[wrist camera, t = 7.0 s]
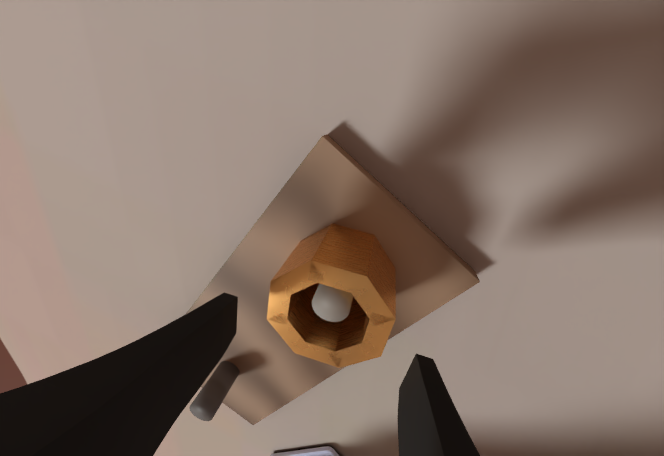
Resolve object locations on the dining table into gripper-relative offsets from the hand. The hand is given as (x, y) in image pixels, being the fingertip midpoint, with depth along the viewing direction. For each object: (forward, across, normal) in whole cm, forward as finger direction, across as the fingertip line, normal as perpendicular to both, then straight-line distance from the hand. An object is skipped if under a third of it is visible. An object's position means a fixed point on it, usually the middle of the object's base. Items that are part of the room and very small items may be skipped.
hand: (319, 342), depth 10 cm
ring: (+6, 0, 0) cm, 6 cm away
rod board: (+6, +4, +6) cm, 10 cm away
